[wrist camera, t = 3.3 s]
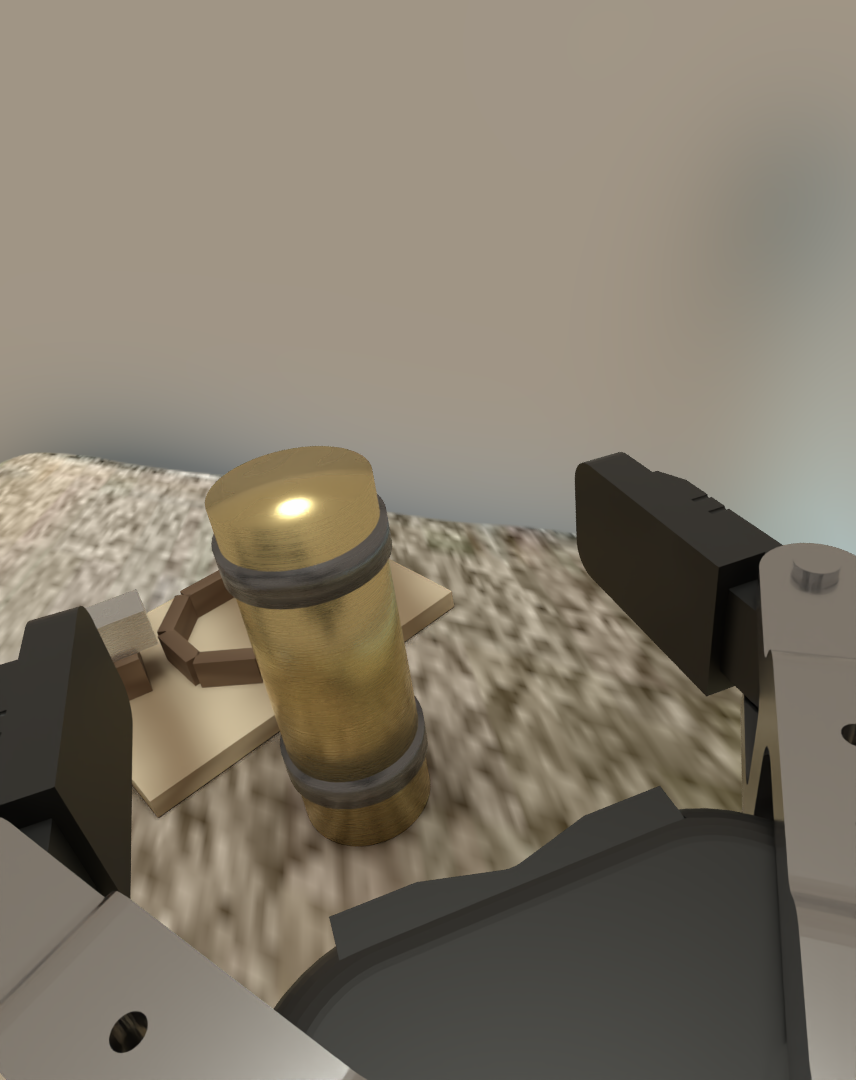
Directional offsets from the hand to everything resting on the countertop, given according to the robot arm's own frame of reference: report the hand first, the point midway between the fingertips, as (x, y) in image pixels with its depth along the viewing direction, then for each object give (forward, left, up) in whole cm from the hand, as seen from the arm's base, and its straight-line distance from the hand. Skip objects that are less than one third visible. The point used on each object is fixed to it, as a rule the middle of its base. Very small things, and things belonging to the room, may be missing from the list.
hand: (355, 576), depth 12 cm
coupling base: (+6, +21, -17) cm, 28 cm away
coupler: (+4, +9, -17) cm, 20 cm away
